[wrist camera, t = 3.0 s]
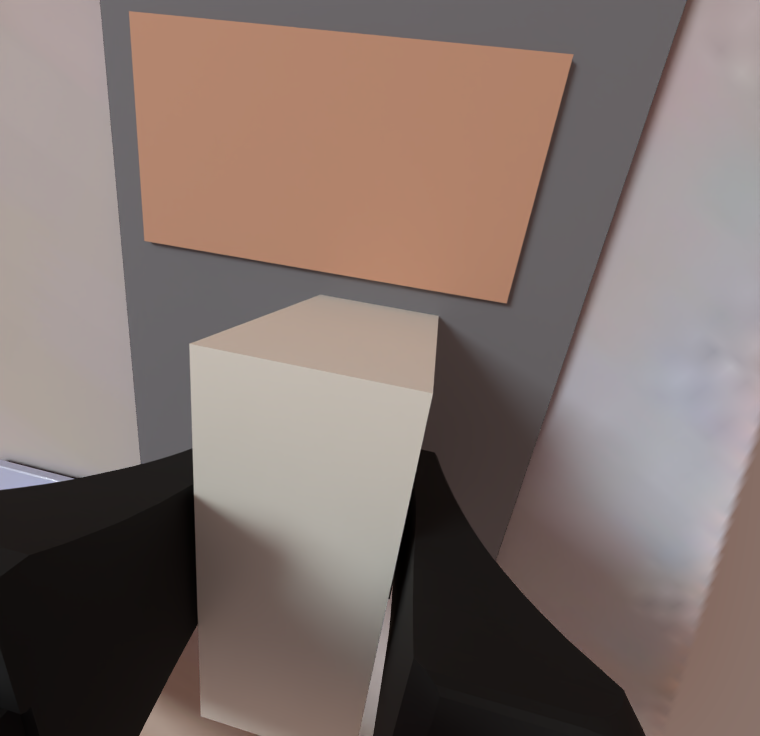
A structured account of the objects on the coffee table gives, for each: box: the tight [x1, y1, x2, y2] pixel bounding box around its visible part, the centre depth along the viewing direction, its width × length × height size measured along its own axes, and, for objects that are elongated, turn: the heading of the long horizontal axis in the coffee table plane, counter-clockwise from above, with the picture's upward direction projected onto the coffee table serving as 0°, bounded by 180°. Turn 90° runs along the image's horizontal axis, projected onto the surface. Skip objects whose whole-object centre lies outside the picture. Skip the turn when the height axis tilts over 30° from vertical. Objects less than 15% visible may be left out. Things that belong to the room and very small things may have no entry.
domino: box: [189, 295, 439, 736], centre depth 9 cm, size 9×4×6 cm, turn 172°
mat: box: [100, 0, 687, 561], centre depth 11 cm, size 18×14×1 cm
